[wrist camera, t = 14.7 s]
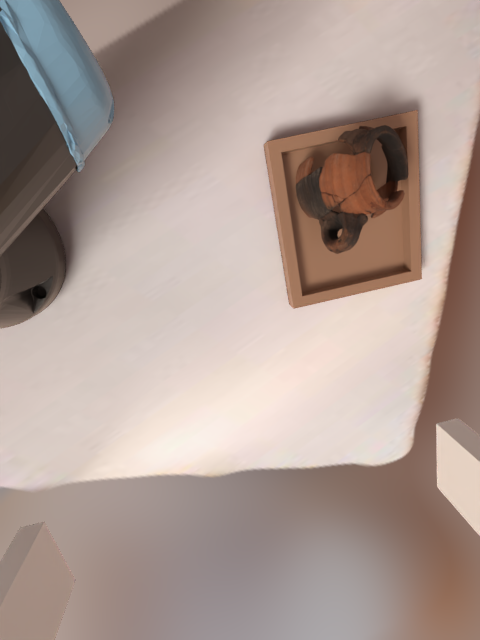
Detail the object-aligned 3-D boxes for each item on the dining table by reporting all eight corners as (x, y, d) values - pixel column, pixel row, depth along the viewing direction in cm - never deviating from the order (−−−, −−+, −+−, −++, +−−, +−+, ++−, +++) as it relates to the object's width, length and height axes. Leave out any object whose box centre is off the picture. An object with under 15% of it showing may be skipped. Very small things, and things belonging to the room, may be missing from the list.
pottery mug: (293, 133, 34) (364, 95, 27) (350, 164, 39) (421, 138, 32) (281, 250, 34) (348, 241, 27) (339, 264, 39) (407, 260, 33)
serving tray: (289, 304, 39) (293, 308, 37) (263, 145, 34) (267, 141, 32) (411, 276, 40) (421, 279, 38) (405, 115, 34) (417, 110, 32)
